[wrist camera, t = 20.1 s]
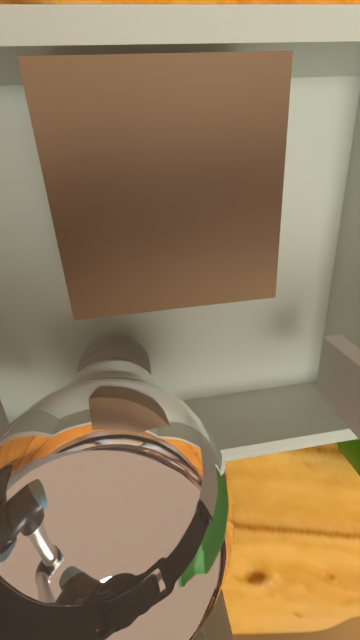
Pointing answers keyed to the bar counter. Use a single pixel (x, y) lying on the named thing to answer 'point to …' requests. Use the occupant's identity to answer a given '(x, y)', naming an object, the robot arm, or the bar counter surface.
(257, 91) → the walnut block
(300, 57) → the tray
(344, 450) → the bottle
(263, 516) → the bar counter surface
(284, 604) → the bar counter surface
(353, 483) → the bar counter surface
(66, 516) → the light bulb
